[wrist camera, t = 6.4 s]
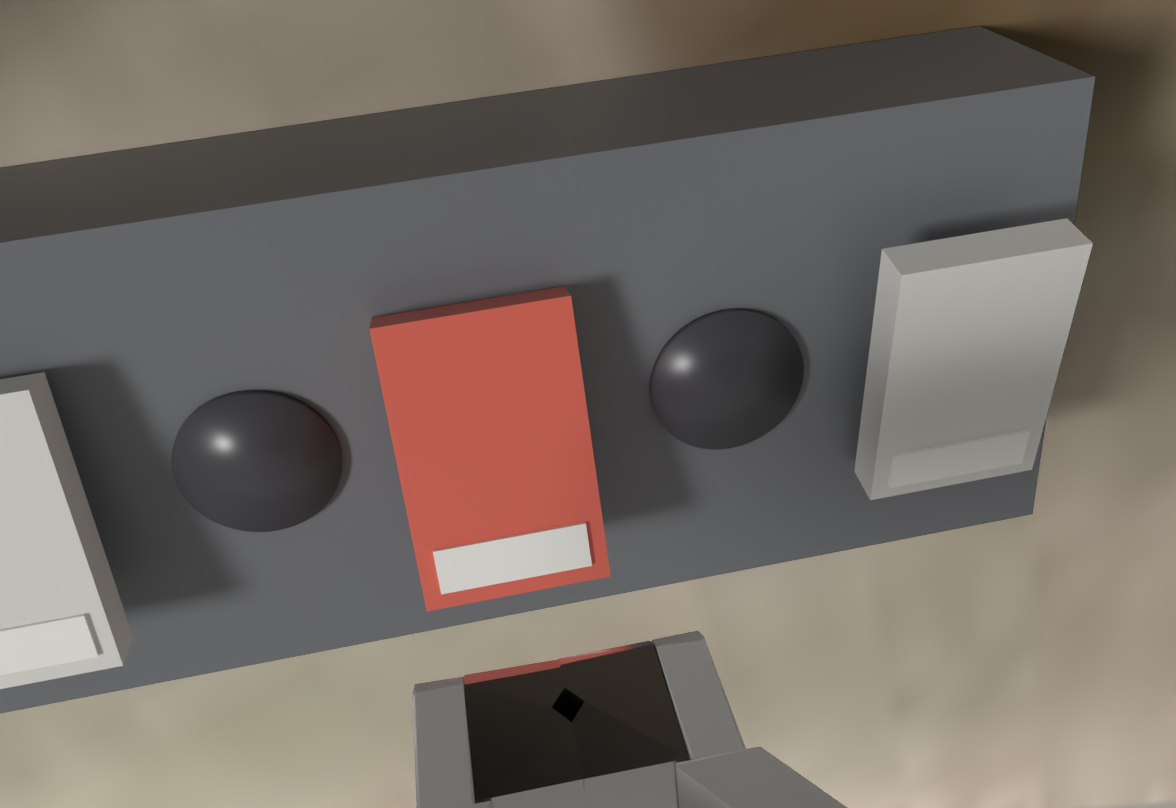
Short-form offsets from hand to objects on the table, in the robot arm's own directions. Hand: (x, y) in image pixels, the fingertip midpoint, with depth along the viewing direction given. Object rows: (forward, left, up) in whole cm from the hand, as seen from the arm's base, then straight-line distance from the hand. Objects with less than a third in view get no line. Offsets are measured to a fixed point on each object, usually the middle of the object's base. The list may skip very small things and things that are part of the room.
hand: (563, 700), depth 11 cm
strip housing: (+2, +2, -12) cm, 13 cm away
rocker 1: (+9, +2, -7) cm, 11 cm away
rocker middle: (0, +2, -7) cm, 7 cm away
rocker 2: (-8, +2, -7) cm, 11 cm away
